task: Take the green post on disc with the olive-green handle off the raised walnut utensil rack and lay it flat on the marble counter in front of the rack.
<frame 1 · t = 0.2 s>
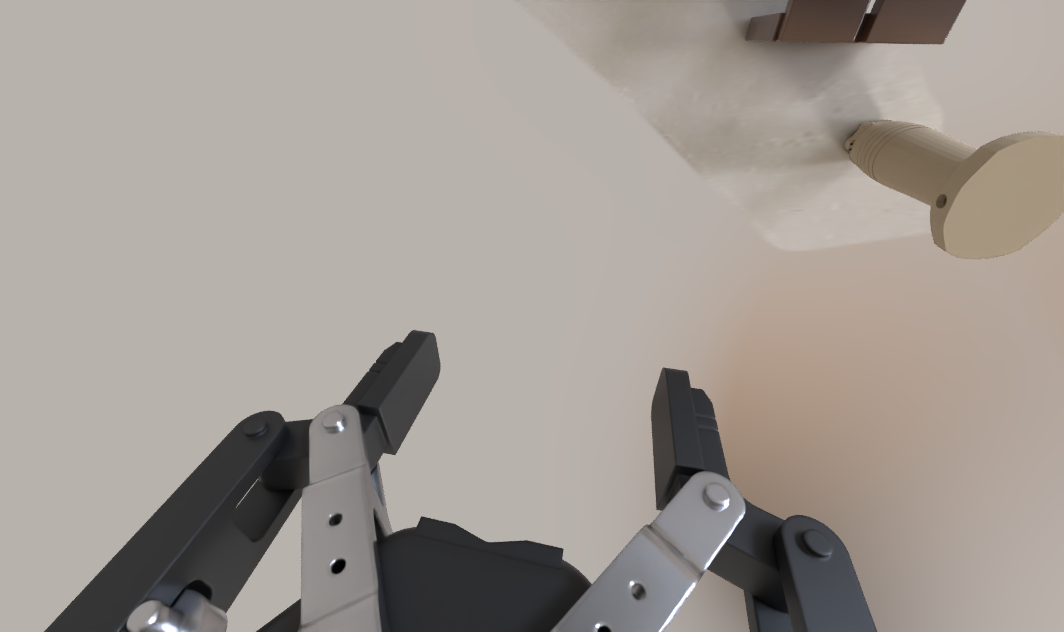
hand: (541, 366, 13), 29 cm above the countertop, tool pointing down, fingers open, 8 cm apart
handle: (865, 139, 32), on the countertop
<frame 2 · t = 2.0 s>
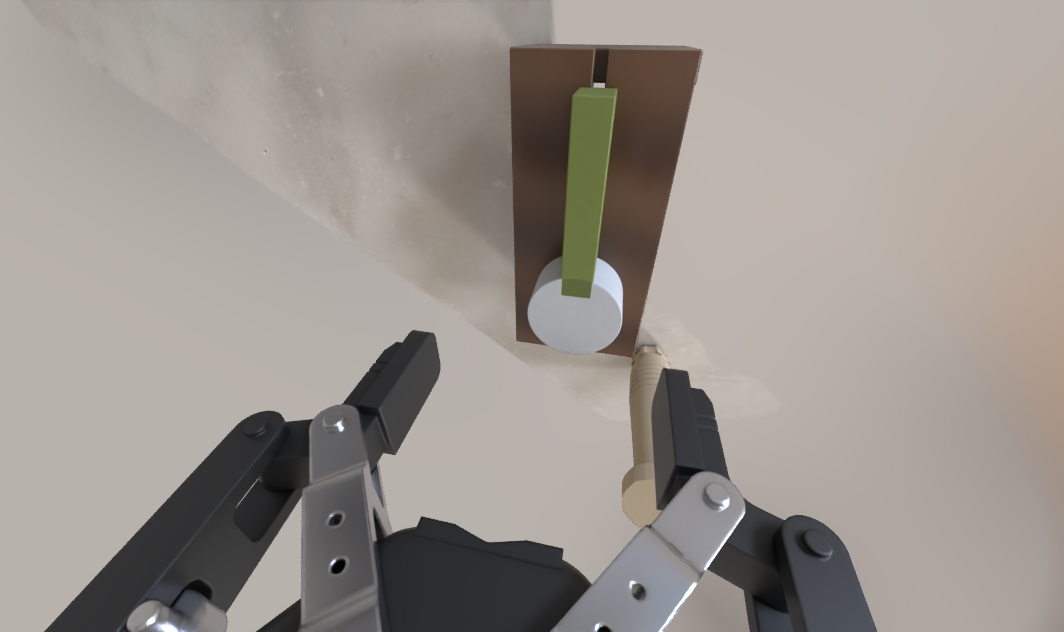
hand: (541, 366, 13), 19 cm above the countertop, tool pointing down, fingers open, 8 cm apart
handle: (649, 354, 37), on the countertop
green post on disc: (588, 192, 21), point 8 cm above the countertop, touching rack
rack: (594, 191, 29), on the countertop
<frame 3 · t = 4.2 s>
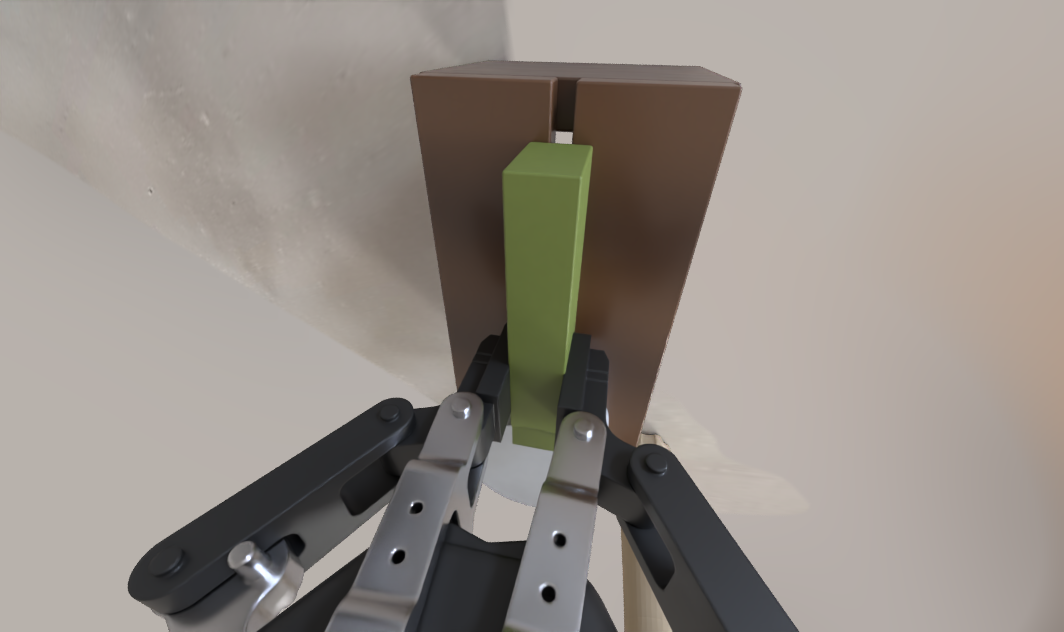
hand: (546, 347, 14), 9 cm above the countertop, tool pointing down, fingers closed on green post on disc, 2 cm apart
handle: (647, 442, 30), on the countertop
green post on disc: (552, 293, 14), point 8 cm above the countertop, touching gripper
rack: (573, 255, 21), on the countertop
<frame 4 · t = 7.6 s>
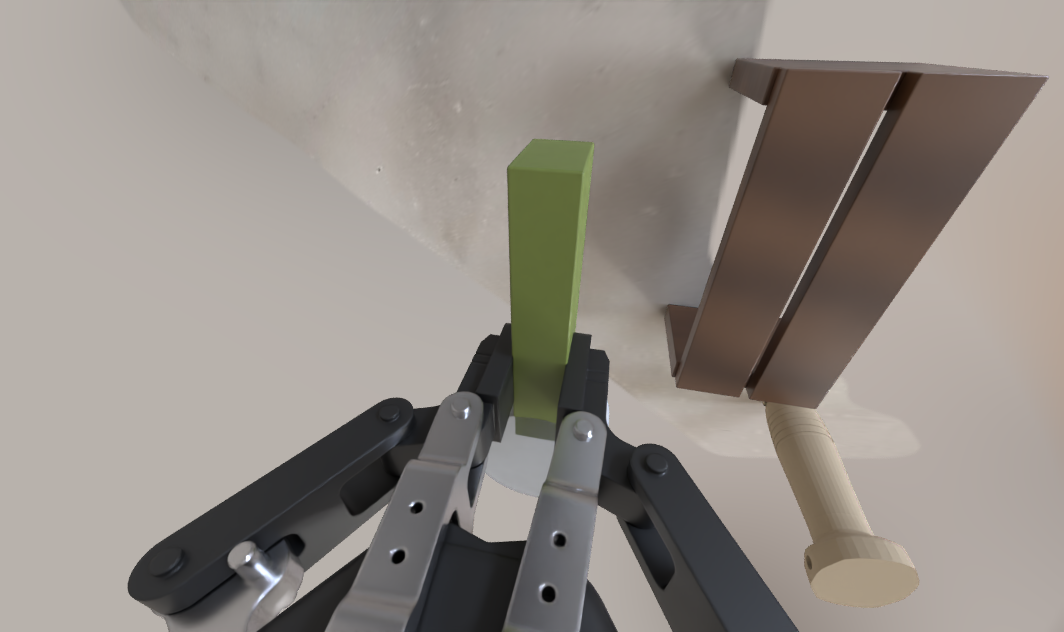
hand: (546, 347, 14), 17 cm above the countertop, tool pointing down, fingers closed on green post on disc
handle: (780, 391, 34), on the countertop
green post on disc: (554, 287, 14), point 15 cm above the countertop, touching gripper
rack: (762, 220, 26), on the countertop
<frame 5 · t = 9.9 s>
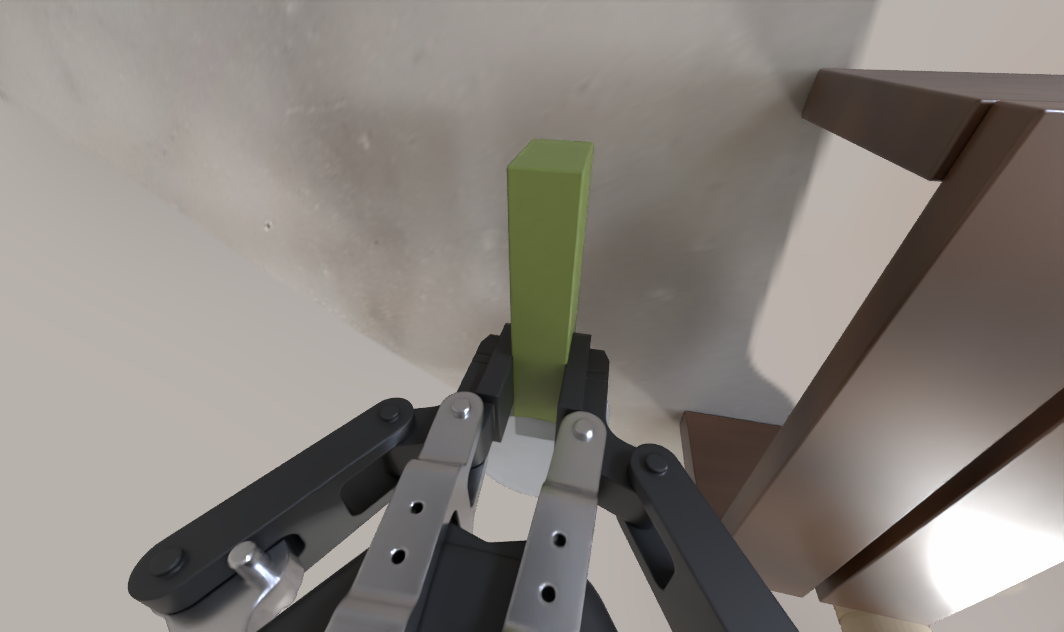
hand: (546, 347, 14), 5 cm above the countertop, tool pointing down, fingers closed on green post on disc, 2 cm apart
handle: (835, 515, 25), on the countertop
green post on disc: (554, 287, 14), point 4 cm above the countertop, touching gripper
rack: (835, 315, 17), on the countertop
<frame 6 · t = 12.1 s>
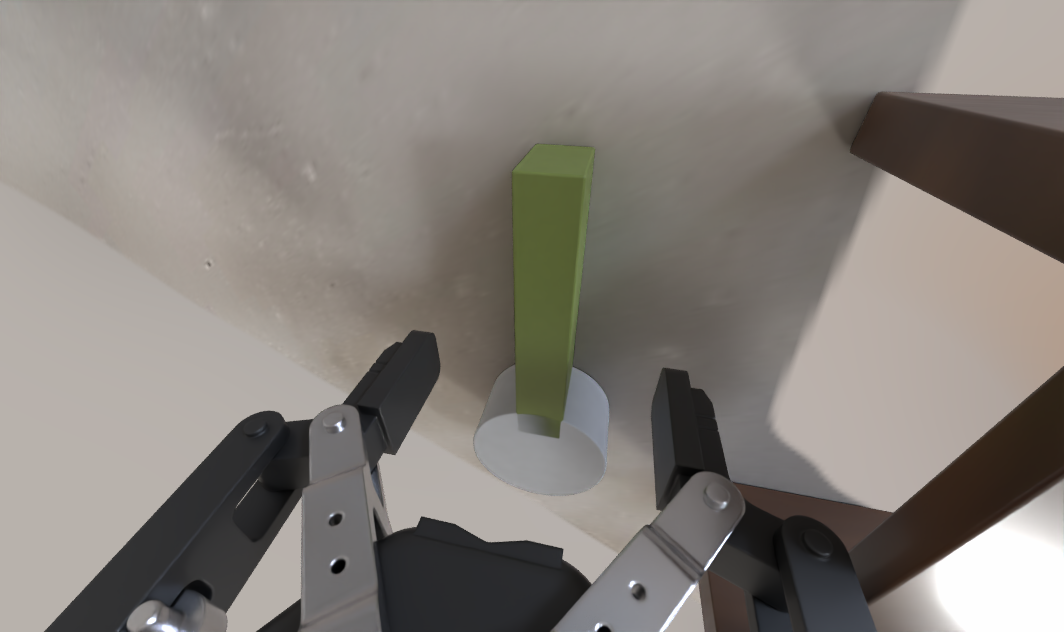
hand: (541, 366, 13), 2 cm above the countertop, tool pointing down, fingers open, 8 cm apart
green post on disc: (556, 287, 14), on the countertop
rack: (878, 382, 14), on the countertop
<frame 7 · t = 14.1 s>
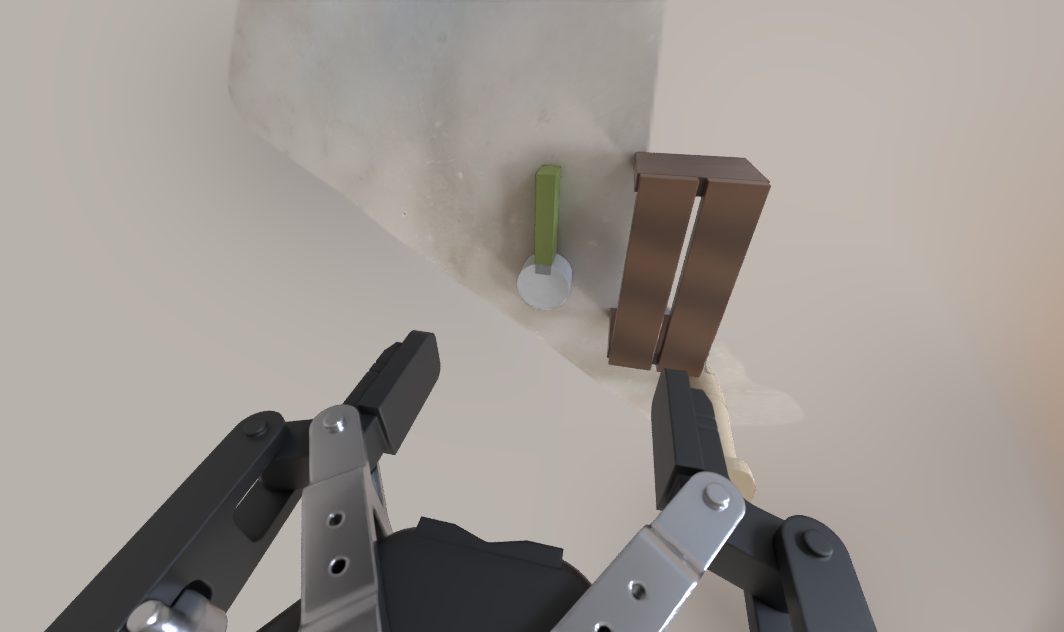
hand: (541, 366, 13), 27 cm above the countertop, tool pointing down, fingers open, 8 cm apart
handle: (699, 373, 46), on the countertop
green post on disc: (549, 217, 38), on the countertop
rack: (667, 250, 38), on the countertop
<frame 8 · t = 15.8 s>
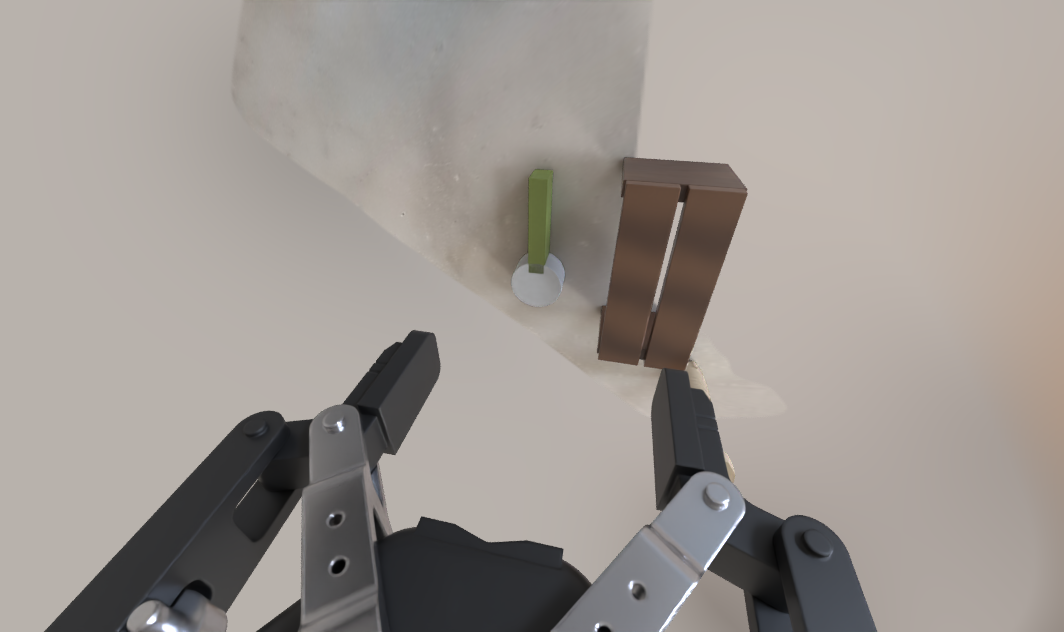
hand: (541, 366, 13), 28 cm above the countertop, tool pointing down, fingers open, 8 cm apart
handle: (686, 367, 48), on the countertop
green post on disc: (542, 218, 40), on the countertop
rack: (654, 250, 40), on the countertop
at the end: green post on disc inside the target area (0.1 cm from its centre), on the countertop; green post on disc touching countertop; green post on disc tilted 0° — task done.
